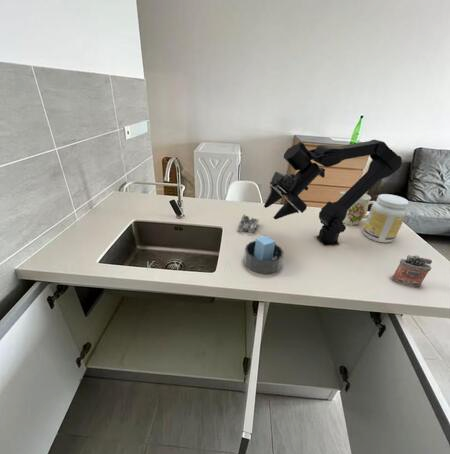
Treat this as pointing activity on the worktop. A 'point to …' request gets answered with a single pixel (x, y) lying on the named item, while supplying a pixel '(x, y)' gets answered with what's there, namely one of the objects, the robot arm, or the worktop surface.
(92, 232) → the worktop surface
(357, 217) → the pitcher
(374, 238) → the supplement tub
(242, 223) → the egg carton
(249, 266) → the pot
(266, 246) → the ice block
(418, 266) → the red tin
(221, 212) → the worktop surface
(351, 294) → the worktop surface
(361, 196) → the robot arm
